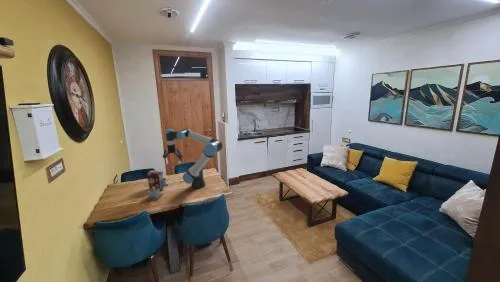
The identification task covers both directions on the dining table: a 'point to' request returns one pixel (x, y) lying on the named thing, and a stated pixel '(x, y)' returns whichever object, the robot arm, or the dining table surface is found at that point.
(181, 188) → the dining table surface
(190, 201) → the dining table surface
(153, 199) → the peg on base
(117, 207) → the dining table surface
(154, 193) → the hollow square steel tube
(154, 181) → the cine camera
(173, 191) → the dining table surface
